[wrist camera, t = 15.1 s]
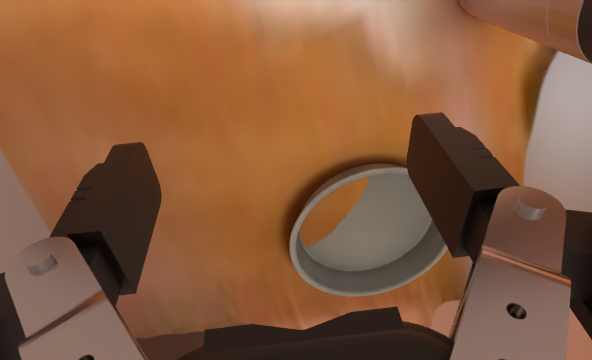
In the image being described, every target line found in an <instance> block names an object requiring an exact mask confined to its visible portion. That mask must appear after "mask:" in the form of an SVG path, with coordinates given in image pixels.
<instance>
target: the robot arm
mask: <svg viewBox="0 0 592 360" xmlns="http://www.w3.org/2000/svg"><path fill="white" fill-rule="evenodd" d="M458 2H459V4H460V6H461V7H462V8H463V9H464V11H465V12H467V13H468V14H470V15H471V16H474V17H476V18H479V19H481V20H484V21H486V22H488V23H491V24H493V25H495V26H498V27H500V28H503V29H505V30H508V31H510V32H513V33H515V34H518V35H520V36H523V37H526V38H528V39H531V40H533V41H536V42H538V43H541V44H543V45H546V46H548V47H551V48H553V49H556V50H558V51H561V52H563V53H566V54H569V55H571V56H574V57H576V58H579V59H582V60H584V61H586V62H589V63H591V64H592V0H458ZM407 170H408V174H409V177H410V179H411V181H412V183H413V185H414V186H415V188H416V190H417V192H418V194H419V196H420V197H421V199H422V201H423V203H424V205H425V207H426V209H427V210H428V212H429V214H430V216H431V218H432V220H433V222H434V223H435V225H436V227H437V229H438V231H439V233H440V235H441V236H442V238H443V240H444V242H445V244H446V246H447V247H448V249H449V251H450V253H451V255H452V257H453V258H455V257H464V256H470V258H471V260H472V261H473V263H472V266H471V269H470V272H469V275H468V278H467V281H466V284H465V288H464V291H463V294H462V297H461V300H460V303H459V307H458V310H457V313H456V316H455V319H454V322H453V325H452V328H451V331H450V334H449V337H446V336H445V335H443V334H441V333H439V332H437V331H434V330H432V329H430V328H427V327H424V326H421V325H418V324H414V323H410V322H403V321H402V319H401V316H400V313H399V311H398V308H397V307H390V308H382V309H374V310H365V311H357V312H350V313H347V314H345V315H342V316H340V317H337V318H335V319H332V320H329V321H327V322H324V323H322V324H319V325H316V326H314V327H311V328H309V329H305V330H296V329H288V328H280V327H272V326H264V325H256V324H249V325H241V326H233V327H225V328H216V329H208V330H205V335H204V345H203V346H201V347H199V348H196V349H194V350H192V351H191V352H188V353H187V354H185V355H183V356H182V357H180V358H179V359H177V360H566V350H567V335H568V322H569V307H570V308H571V310H572V311H573V313H574V314H575V316H576V317H577V319H578V320H579V322H580V323H581V324H582V326H583V327H584V329H585V330H586V332H587V333H588V335H589V336H590V337H591V339H592V213H590V212H582V211H573V210H565V208H564V207H563V205H562V204H561V203H560V202H559V201H558V200H557V199H556V198H554V197H553V196H551V195H550V194H548V193H546V192H544V191H541V190H538V189H535V188H531V187H525V186H520V185H519V184H518V183H517V182H516V180H515V179H514V178H513V177H512V176H511V175H510V174H509V173H508V171H507V170H506V169H505V168H504V167H503V166H502V165H501V164H500V163H499V161H498V160H497V159H496V158H495V157H493V155H492V154H491V152H490V151H489V150H488V149H487V148H485V146H484V145H483V143H482V142H481V141H480V140H479V139H478V138H477V137H476V136H475V135H474V134H472V133H470V132H468V131H467V130H465V129H463V128H461V127H456V128H455V127H454V125H453V124H452V123H451V122H450V121H449V119H448V118H447V117H446V116H445V115H444V114H443V113H441V112H440V113H430V114H420V115H416V116H415V117H414V119H413V122H412V128H411V134H410V141H409V147H408V154H407ZM160 205H161V188H160V184H159V181H158V178H157V176H156V173H155V170H154V168H153V165H152V162H151V160H150V157H149V154H148V152H147V149H146V147H145V145H144V144H143V143H141V142H138V143H129V144H119V145H114V146H113V147H112V149H111V151H110V152H109V154H108V156H107V158H106V160H105V162H104V163H100V164H97V165H96V166H95V167H94V168H92V169H91V170H90V171H89V172H88V173H87V174H86V175H84V177H83V179H82V180H81V182H80V184H79V186H78V187H77V191H75V193H74V195H73V196H72V198H71V202H69V203H68V205H67V207H66V209H65V210H64V212H63V214H62V216H61V217H60V219H59V221H58V223H57V225H56V226H55V228H54V230H53V232H52V233H51V235H50V237H49V238H46V239H43V240H40V241H38V242H36V243H33V244H31V245H30V246H28V247H26V248H25V249H23V250H22V251H21V252H19V253H18V254H17V255H16V256H15V257H14V258H13V259H12V260H11V262H10V263H9V265H8V266H7V268H6V271H5V272H4V273H1V274H0V360H148V359H147V357H146V356H145V354H144V352H143V351H142V349H141V347H140V346H139V344H138V343H137V341H136V339H135V338H134V336H133V334H132V333H131V331H130V329H129V328H128V326H127V325H126V323H125V321H124V320H123V318H122V316H121V315H120V313H119V312H118V310H117V308H116V307H115V306H116V303H117V300H118V297H119V295H127V294H135V293H136V291H137V287H138V283H139V280H140V276H141V273H142V269H143V265H144V262H145V258H146V255H147V251H148V248H149V244H150V240H151V237H152V233H153V230H154V226H155V222H156V219H157V215H158V212H159V208H160Z"/></svg>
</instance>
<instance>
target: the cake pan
mask: <svg viewBox="0 0 592 360" xmlns="http://www.w3.org/2000/svg"><path fill="white" fill-rule="evenodd" d="M364 177H369V184H368V186H367V188H366V189H365V190H364V193H363V194H362V195H361V196H360V200H359V201H358V202H357V203H356V205H355V206H354V207H353V208H352V209H351V211H350V212H349V213H348V214H347V215H346V216H345V218H344V219H343V220H342V221H341V222H340V223H339V225H338V226H337V227H336V228H335V229H334V230H333V232H332V233H331V234H329V235H327V236H326V238H324V239H323V240H321V241H319V242H318V243H316V244H314V245H311V246H305V247H304V245H303V243H302V240H301V238H300V231H299V229H300V227H301V225H302V223H303V221H304V219H305V218H306V216H307V215H308V213H309V212H310V211H311V210H312V208H313V207H314V206H315V205H316V204H317V203H318V202H319V201H320V200H322V199H323V198H324V197H325V196H327V195H328V194H329V193H331V192H332V191H334V190H336V189H337V188H339V187H341V186H343V185H345V184H347V183H350V182H352V181H355V180H357V179H360V178H364ZM289 247H290V256H291V260H292V263H293V265H294V267H295V269H296V271H297V272H298V273H299V275H300V276H301V277H302V278H303V279H304V280H305V281H306V282H308V283H309V284H310V285H312V286H314V287H315V288H317V289H319V290H322V291H325V292H328V293H331V294H335V295H342V296H366V295H374V294H378V293H383V292H386V291H390V290H392V289H395V288H398V287H400V286H402V285H405V284H407V283H409V282H411V281H412V280H414V279H416V278H417V277H419V276H420V275H422V274H423V273H425V272H426V271H427V270H429V269H430V268H431V267H432V266H433V265H434V264H435V263H436V262H437V261H438V260H439V259H440V258H441V257H442V256H443V254H444V253H445V252H446V250H447V249H448V247H447V246H446V244H445V242H444V240H443V238H442V236H441V235H440V233H439V231H438V229H437V227H436V225H435V223H434V222H433V220H432V218H431V216H430V214H429V212H428V210H427V209H426V207H425V205H424V203H423V201H422V199H421V197H420V196H419V194H418V192H417V190H416V188H415V186H414V185H413V183H412V181H411V179H410V177H409V174H408V170H407V168H406V167H404V166H400V165H396V164H389V163H374V164H367V165H361V166H358V167H354V168H351V169H348V170H346V171H344V172H341V173H339V174H337V175H336V176H334V177H332V178H331V179H329V180H328V181H326V182H325V183H324V184H322V185H321V186H320V187H319V188H318V189H317V190H316V191H315V192H314V193H313V194H312V195H311V196H310V198H309V199H308V201H307V202H306V204H305V205H304V207H303V209H302V212H301V214H300V216H299V217H298V219H297V221H296V223H295V225H294V227H293V229H292V233H291V237H290V245H289Z"/></svg>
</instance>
